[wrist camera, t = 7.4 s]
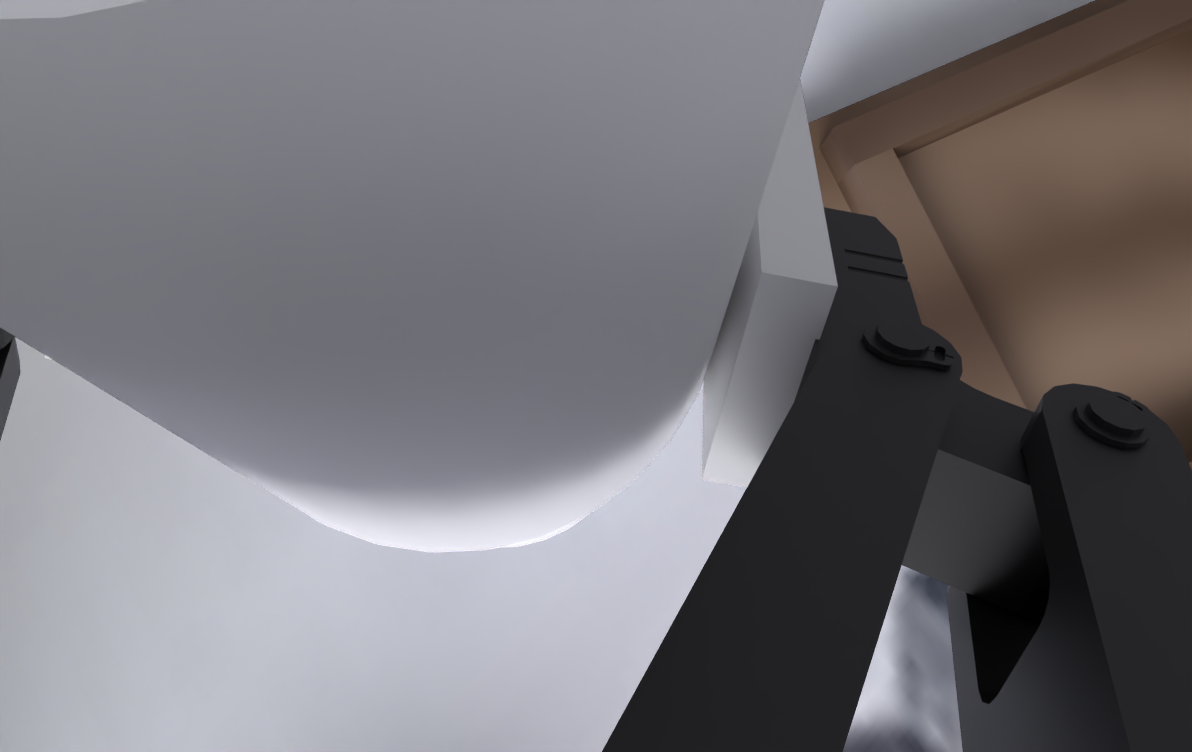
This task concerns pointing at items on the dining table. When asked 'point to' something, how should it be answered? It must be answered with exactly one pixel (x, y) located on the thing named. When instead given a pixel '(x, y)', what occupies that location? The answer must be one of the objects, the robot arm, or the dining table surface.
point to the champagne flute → (393, 235)
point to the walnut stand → (1042, 203)
